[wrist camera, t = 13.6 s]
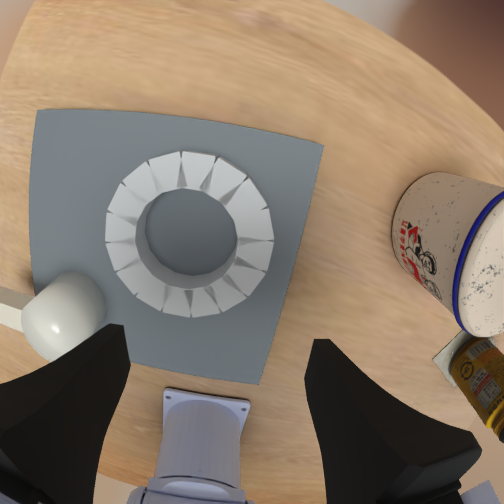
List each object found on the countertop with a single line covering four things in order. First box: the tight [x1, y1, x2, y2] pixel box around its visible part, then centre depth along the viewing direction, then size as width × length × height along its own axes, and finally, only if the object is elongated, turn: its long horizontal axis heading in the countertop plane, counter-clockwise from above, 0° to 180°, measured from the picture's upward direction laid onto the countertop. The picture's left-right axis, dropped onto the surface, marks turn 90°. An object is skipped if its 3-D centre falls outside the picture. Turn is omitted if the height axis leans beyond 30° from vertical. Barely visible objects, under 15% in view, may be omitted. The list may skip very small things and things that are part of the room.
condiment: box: [433, 330, 504, 443], centre depth 20 cm, size 7×8×12 cm
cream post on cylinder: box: [0, 271, 107, 362], centre depth 18 cm, size 9×5×5 cm, turn 80°
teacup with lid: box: [392, 172, 504, 337], centre depth 15 cm, size 12×9×12 cm
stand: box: [29, 109, 324, 385], centre depth 19 cm, size 19×20×3 cm
